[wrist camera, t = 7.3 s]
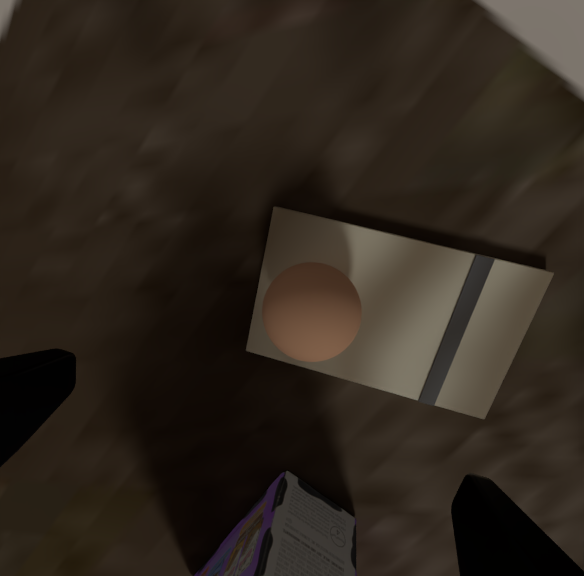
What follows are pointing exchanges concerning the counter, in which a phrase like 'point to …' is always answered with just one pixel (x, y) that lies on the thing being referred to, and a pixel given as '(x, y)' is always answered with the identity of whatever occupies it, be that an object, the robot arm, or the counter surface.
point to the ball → (311, 312)
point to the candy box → (288, 536)
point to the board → (410, 310)
